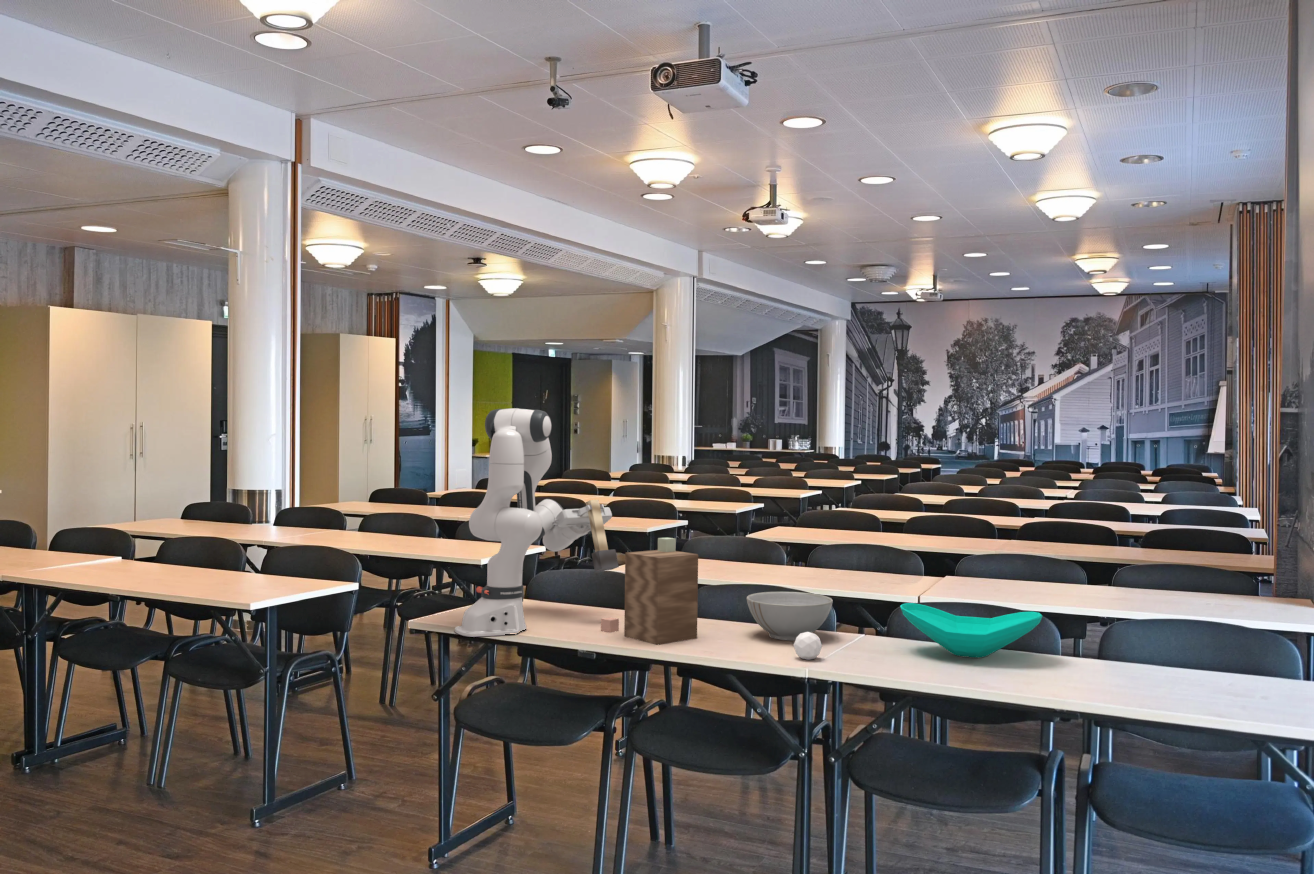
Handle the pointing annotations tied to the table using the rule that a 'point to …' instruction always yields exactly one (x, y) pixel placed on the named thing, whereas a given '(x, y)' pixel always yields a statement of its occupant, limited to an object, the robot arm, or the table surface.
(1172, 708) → the table surface
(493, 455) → the robot arm
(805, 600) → the decorative bowl
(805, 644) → the geometric ball
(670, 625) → the pedestal
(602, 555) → the mallet
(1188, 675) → the table surface
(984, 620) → the table top decor
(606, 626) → the terracotta block
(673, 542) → the sage block
